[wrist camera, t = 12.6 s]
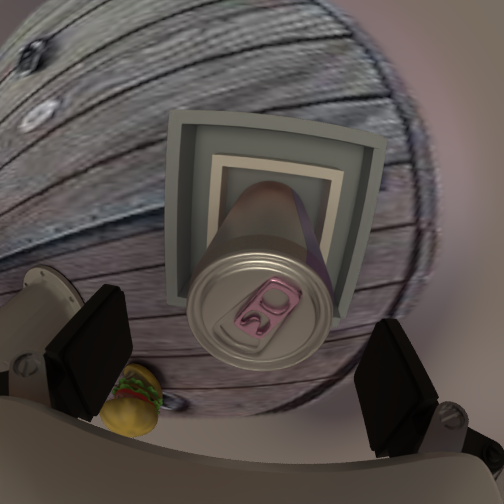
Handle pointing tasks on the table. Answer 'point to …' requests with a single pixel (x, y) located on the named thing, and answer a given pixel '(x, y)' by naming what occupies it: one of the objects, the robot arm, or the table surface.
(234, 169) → the box
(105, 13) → the table surface
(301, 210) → the beverage can
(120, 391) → the hamburger
